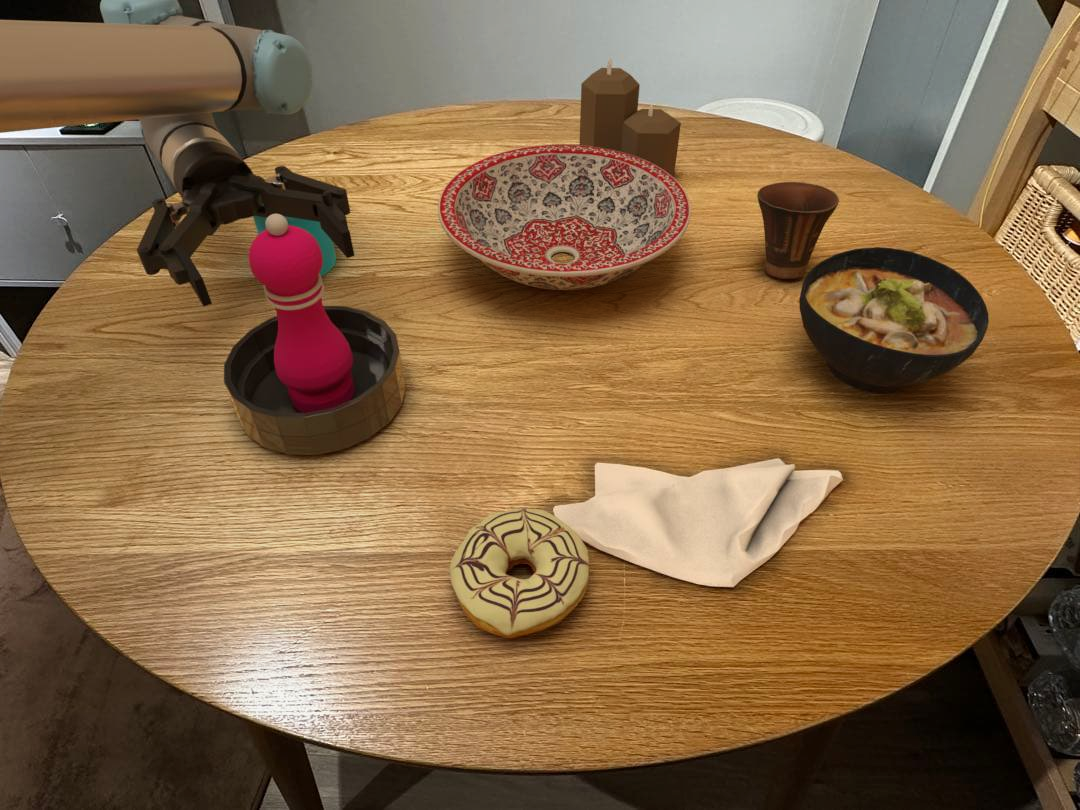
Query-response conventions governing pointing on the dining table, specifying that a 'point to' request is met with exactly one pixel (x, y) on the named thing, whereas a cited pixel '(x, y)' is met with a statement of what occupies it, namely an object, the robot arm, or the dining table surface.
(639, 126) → the candle
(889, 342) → the bowl
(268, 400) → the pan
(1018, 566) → the dining table surface
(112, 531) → the dining table surface
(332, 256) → the mug
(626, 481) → the cloth
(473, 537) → the decorated donut
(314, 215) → the robot arm
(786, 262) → the cup
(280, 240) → the pepper mill
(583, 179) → the ceramic bowl
